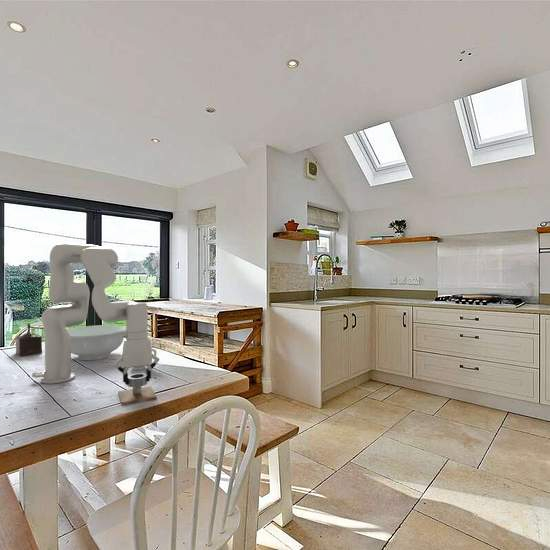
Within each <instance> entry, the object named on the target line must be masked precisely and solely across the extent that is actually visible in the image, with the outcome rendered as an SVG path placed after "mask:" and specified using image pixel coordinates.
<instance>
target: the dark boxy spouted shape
mask: <svg viewBox="0 0 550 550" xmlns="http://www.w3.org/2000/svg"><path fill="white" fill-rule="evenodd" d="M26 327H27V332H26V333H24V334H22V335H18V336H15V353H16V355H17V356H18V357H27V356H33V355H37V354H39V355H40V354H42V353H43V343H42V342H43V338H42V336H41V335H40V334H37V333H34V332H31V329H35V330H36V329H37V330H44V327H42V326H31V323H27V326H26Z"/></svg>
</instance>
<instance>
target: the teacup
mask: <svg viewBox="0 0 550 550" xmlns="http://www.w3.org/2000/svg"><path fill="white" fill-rule="evenodd" d="M151 348H152V353H153V355H155V356H156V357H157V350H156V349H155V348H154V347H153V346H152V345H151ZM152 360H154V359H153V358H152ZM145 369H147V366H139V367H132V370H134V371H141V370H145Z"/></svg>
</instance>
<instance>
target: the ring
mask: <svg viewBox="0 0 550 550" xmlns="http://www.w3.org/2000/svg"><path fill="white" fill-rule="evenodd" d="M147 384H148V381H147V374H146V373H142V372H141V373H140V372H137V373H132V374H128V384H127V385H126V386H127V387H129V388H133V387H141V388H142V387H143V386H146V385H147Z"/></svg>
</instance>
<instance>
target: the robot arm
mask: <svg viewBox="0 0 550 550" xmlns="http://www.w3.org/2000/svg"><path fill="white" fill-rule="evenodd" d="M118 262H119V256H118V254H117V252H116V251H115V250H114V249H112V248H109V247H104V246H99V245H95V244H87V243H86V244H85V243H77V242H76V243H73V242H65V243H64V242H62V243H57V244H55V245H54V246H53V247H52V248H51V250H50V253H49V264H50V277H49V278H50V279H49V286H48V299H49V301H50V302H51V303H53V304H63V305H54V306H50V307H47V308H45V310H43V312H42V313H41V322H42V326H43V327H42V328H44V329H43V331H44V333H43V334H44V370H41V371H36V372H35V371H34V372H32V378H35V379H37V378H40V383H42V384H45V385H46V384H49V385H50V384H51V385H53V384H61V383H66V382H69V381H72V380H73V379H75V377H76V374H75V373H74V372H72V353H71V337H70V334H69V333H68V331H67V329H66V328H69V327H73V326H74V327H75V326H79V325H82V324H85V321H87V317H88V311H89V303H90V302H89V301H90V295H91V303H92V304H91V305H92V306H93V308H94V311H95V312H96V314H97V316H98V318H100V320H101V321H103V322H104V323H109V324H110V323H111V324H112V323H117V322H121V321H125V323H126V324H125V327H126V332H125V333H123V334H122V337H124V339H123V346H122V355H121V357H119V358H118V359H117V360H116V361H115V362H114V363H113V366H114V368H115V369H117V370H118V371H119V372H120V373H121V374H122V381H123V383H124V384H125V385H126V386H127V384H128V376H129V374H128V371H129V368H133V367H139V366H145V367H146V370H145V374H147V383H148V382H149V383H150V379H151V378H152V370H153V368H155V367H156V365H157V364H158V362H159V361H160V358H159V357H158V356H157V355H156V356H155V355H154V353H153V351H152V349H153V348H151V346H152V342H151V338H150V337H149V336H148V335H149V334H148V332H149V329H148V328H149V325H148V323H149V322H148V320H149V319H148V313H149V311H148V310H149V309H148V304H147V303H146V302H142V301H141V302H140V301H139V302H138V301H133V300H121V301H120V300H119V301H118V300H117V301H112V302H111V301H110V300H109V299H108V297H107V294H106V291H105V290H106V289H107V288H109V287H111V286H113V284H114V283H115V282H116V280H117V276H116V273H115V271H114V270H113V269H112V268H115V267H116V266H118ZM73 265H83V267H84V269H85V271H86V273H87V274H88V276H89V278H90V280H91V282H92V283H93V286H94V287H93V289H92V292H90V287H89V286H88V283H86V282H84V281H83V280H74V279H75V270H74V268H73ZM69 303H71V304H69ZM65 304H66V305H65ZM152 358H153V359H152ZM121 363H122V366H123V367H122V366H121V365H120V364H121Z"/></svg>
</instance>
